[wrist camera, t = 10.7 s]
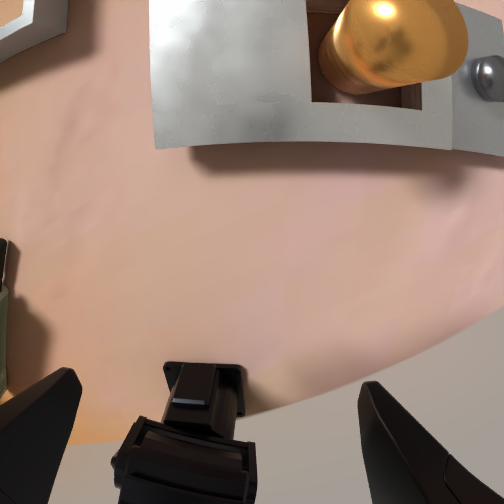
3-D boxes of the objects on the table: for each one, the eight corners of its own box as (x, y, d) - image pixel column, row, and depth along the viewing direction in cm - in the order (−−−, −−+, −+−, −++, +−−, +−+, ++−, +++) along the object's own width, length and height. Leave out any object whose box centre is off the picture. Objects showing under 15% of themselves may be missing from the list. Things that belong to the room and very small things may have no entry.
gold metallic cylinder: (390, 97, 16) (472, 90, 8) (319, 92, 17) (360, 71, 9) (386, 31, 15) (459, -15, 6) (315, 24, 15) (348, -41, 7)
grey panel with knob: (495, 154, 17) (521, 161, 14) (172, 144, 18) (155, 149, 16) (489, 23, 13) (513, 16, 10) (166, -4, 15) (150, -20, 12)
